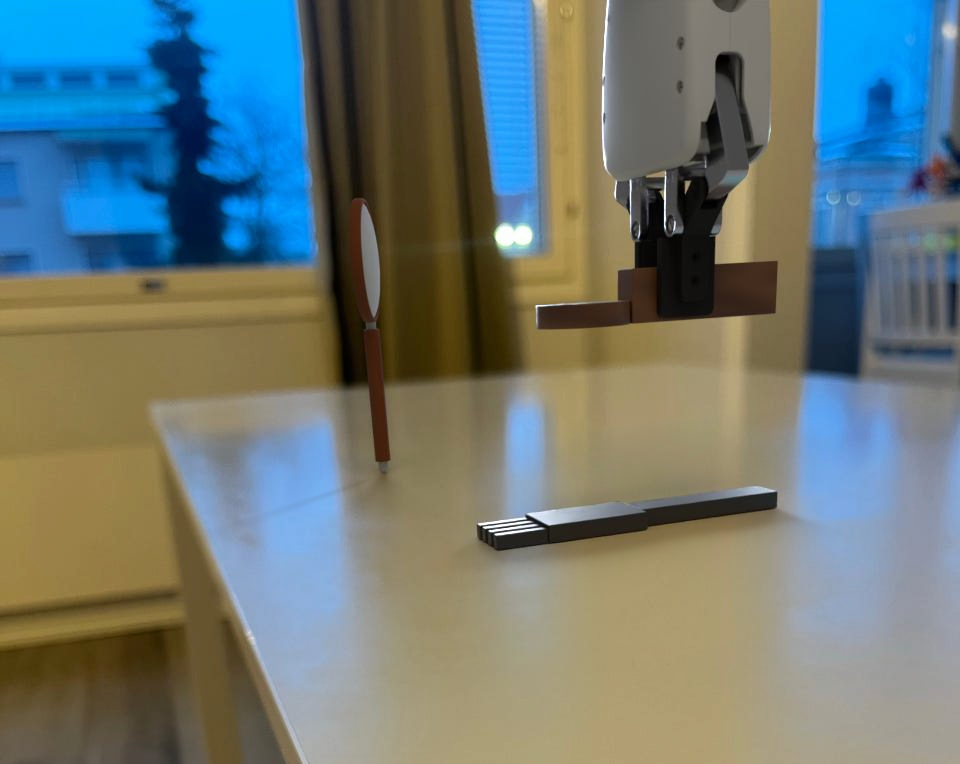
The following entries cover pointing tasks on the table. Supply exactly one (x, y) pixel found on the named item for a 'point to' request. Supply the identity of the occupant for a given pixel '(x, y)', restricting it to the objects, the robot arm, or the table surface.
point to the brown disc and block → (734, 295)
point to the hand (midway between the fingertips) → (673, 313)
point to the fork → (620, 517)
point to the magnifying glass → (369, 318)
